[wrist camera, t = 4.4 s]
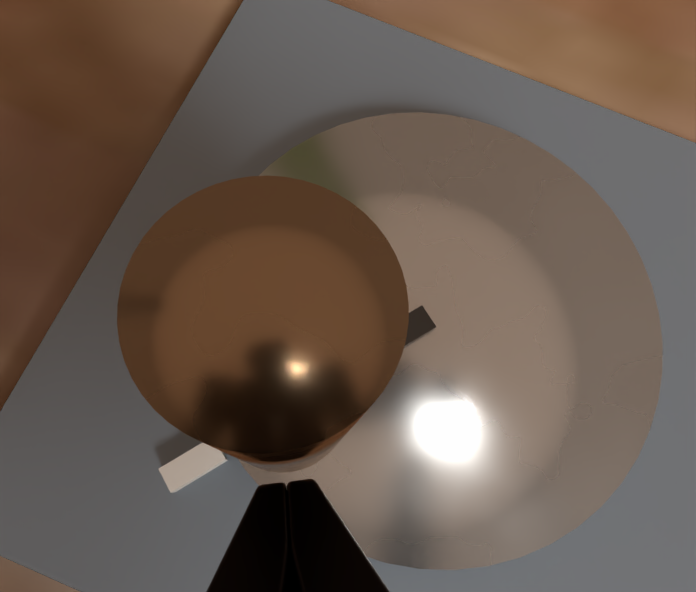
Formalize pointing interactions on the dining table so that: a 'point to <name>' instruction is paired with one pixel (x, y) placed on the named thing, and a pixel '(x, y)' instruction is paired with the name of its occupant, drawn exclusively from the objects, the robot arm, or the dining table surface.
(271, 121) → the dial board
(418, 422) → the dial
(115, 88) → the dining table surface
